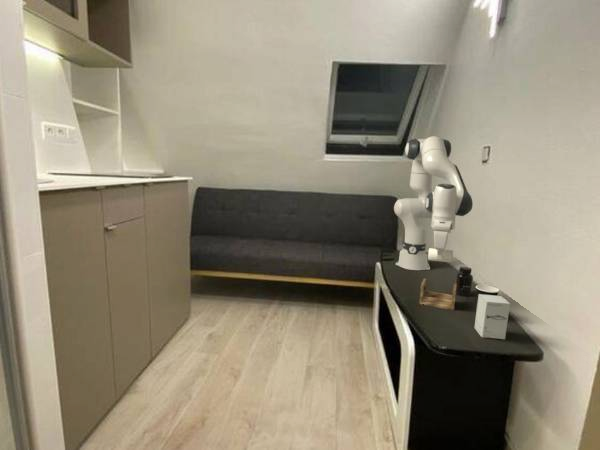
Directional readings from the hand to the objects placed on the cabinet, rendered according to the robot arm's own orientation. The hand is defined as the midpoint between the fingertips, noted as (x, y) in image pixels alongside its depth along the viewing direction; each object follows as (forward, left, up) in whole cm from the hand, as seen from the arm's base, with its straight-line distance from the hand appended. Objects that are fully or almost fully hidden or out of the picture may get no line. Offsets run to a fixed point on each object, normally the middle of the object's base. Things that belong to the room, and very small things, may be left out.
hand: (440, 257), depth 142 cm
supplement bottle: (-15, +10, -19) cm, 26 cm away
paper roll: (0, 0, +1) cm, 1 cm away
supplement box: (+24, +19, -19) cm, 36 cm away
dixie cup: (+8, +18, -19) cm, 27 cm away
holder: (+3, +1, -19) cm, 19 cm away
